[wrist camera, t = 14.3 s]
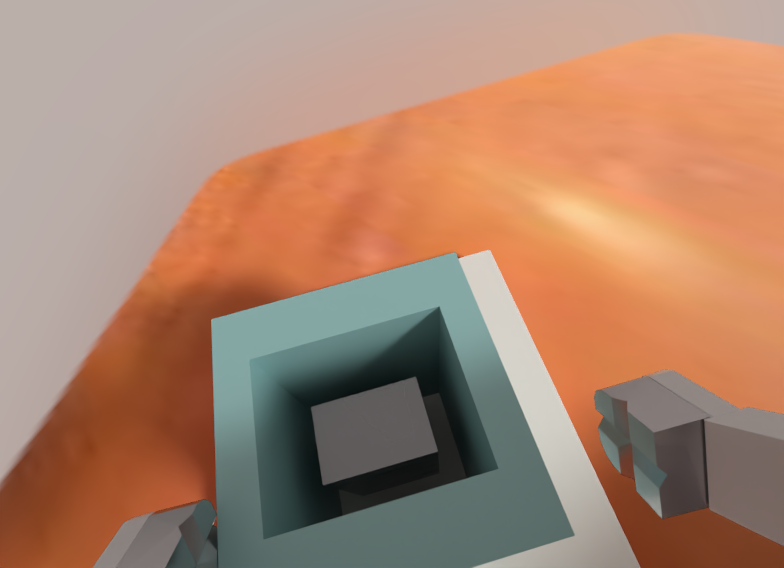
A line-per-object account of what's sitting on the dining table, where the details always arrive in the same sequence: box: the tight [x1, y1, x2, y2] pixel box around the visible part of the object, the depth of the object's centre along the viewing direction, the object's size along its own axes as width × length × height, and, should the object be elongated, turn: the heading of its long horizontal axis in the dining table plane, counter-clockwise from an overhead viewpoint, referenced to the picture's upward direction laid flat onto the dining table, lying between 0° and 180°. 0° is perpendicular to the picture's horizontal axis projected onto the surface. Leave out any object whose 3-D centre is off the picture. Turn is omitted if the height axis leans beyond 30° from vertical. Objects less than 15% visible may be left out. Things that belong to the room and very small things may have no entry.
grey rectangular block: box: [311, 377, 440, 496], centre depth 13 cm, size 2×3×6 cm, turn 105°
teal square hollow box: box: [211, 252, 575, 568], centre depth 12 cm, size 7×7×8 cm
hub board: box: [339, 250, 641, 568], centre depth 16 cm, size 16×14×2 cm
